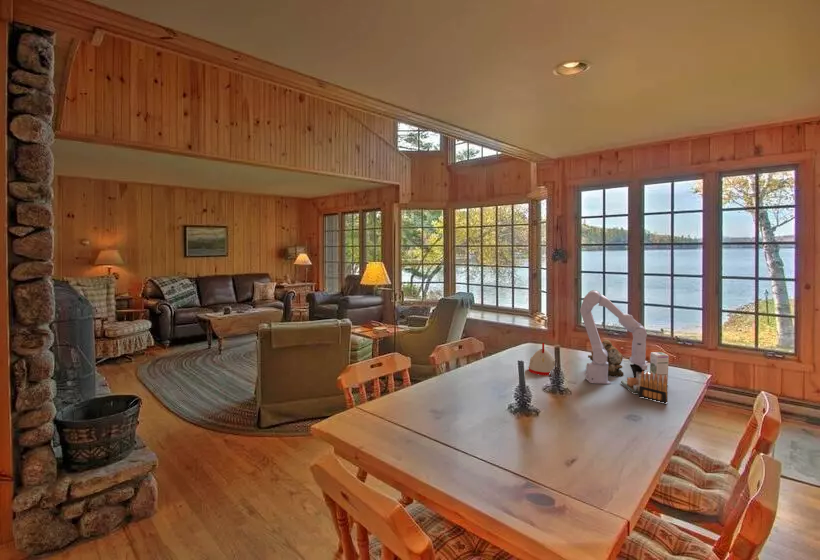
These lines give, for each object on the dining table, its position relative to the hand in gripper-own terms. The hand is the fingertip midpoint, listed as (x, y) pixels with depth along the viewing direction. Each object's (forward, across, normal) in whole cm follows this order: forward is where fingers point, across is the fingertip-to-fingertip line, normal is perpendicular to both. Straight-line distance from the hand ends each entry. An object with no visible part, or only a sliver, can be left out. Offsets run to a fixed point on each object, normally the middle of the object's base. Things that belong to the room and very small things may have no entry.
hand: (637, 380), depth 194 cm
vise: (+3, -4, 0) cm, 5 cm away
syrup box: (+3, +6, -12) cm, 14 cm away
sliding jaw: (+1, -3, 0) cm, 3 cm away
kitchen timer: (+3, +20, +39) cm, 44 cm away
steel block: (+1, -7, 0) cm, 7 cm away
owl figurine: (+3, +22, +7) cm, 23 cm away
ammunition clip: (+3, -18, +1) cm, 18 cm away
